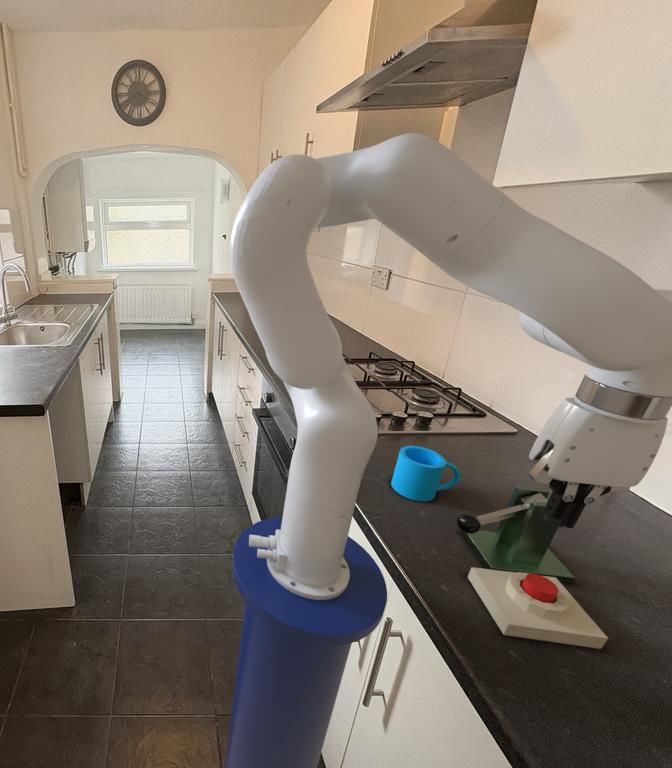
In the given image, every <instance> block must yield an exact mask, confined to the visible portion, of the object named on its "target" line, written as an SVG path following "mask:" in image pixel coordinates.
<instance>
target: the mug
mask: <svg viewBox="0 0 672 768" xmlns="http://www.w3.org/2000/svg"><path fill="white" fill-rule="evenodd" d="M445 467H447V468H450V469H451V470H452V471H453V473H454V474H453V477H452V479H451V480H449V481H448V482H446V483H444V484H440V483H441V479H442V477H443V473H444V471H445V470H444V469H445ZM460 479H461V472H460V470H459V468H458V467H457V466H456V465H454V464H453V463H451V462H449V461H447V460H446V459H445V458H444V457H443V456H442V454H440V453H439V452H437V451H435V450H433V449H430V448H427V447H423V446H419V445H418V446H417V445H406V446H403V447H400V450H399V453H398V457H397V460H396V464H395V468H394V471H393V475H392V479H391V482H390V484H391V487H392V488H393V490H394V491H395V492H397V493H398V494H399V495H401V496H402V497H404V498H407V499H409V500H412V501H418V502H429V501H432V500H434V499H435V497H436V494H437V492H438V491H444V490H448V489H450V488H453V487H454V486H455V485H457V484H458V483H459V481H460Z"/></svg>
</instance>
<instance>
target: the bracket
mask: <svg viewBox="0 0 672 768" xmlns="http://www.w3.org/2000/svg"><path fill="white" fill-rule="evenodd" d="M539 493H541V494H542V495H543V496H544V497H545V498H546V499H547V500H548V497H549V494H550V491H549V490H548V489H547V488H545V487H535V486H524V485H515V487H514V490H513V492H512V494H511V497H510V499H509V501H508V504H507V506H506V508H505V509H507V508H510V507H514V506H518V505H521V504H523V503H522V500H521V498H524V497H528V496H531V495H535V494H539ZM546 504H547V503H544V502H534V501H532V502H531V504H530V506H529V509H528V511H527V513H526V514H523V515H519V516H515V517H511V518H507V519H504V520H500V523H499V525H498V528H497V529H496V531H488V530H481V529H480V530H479V531H478V532H476V533H474V534H469V533H465V532H463V531H462V535H463V537H464V538H465V540H466V541H467V542H468V544H469V545H470V547H471V548H472V550H473V551H474V552H475V554H476V555H477V557H478V558H479V560H480V561H481V563H482V564H483V566H484V567H485V569H490V570H498V571H506V572H515V573H517V572H521V573H529V574H537V575H541V576H547V577H555V578H557V579H558V581H559V582H560V583H567V584H573V582H574V581H575V579H576V577H575V576H574V575H573V573H571V572H570V571H569V569H568V568H567V567H566V566H565V565H564V564H563V562H562V561H561V560H560V559H559V558H557V556H556V555H555V554H554V553H553V552H552V551H551V549H550V548H549V547H550V546H551V543H552V541H553V539H554V537H555V535H556V533H557V531H558V529H559V527H558V526H557V525H556V524H555V523H554V522H553V521H552V520H551V519H550V518H549V517H548V516H547V515H546V514H545V513H544V508H545V506H546Z"/></svg>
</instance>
